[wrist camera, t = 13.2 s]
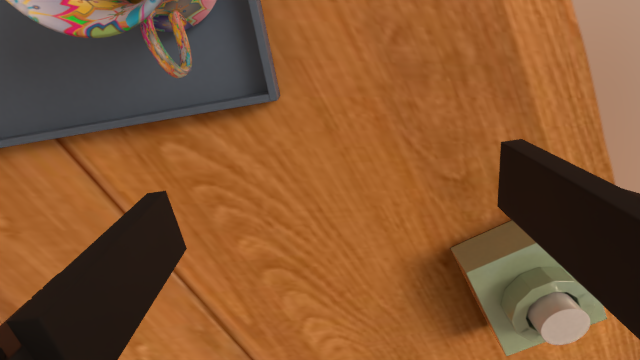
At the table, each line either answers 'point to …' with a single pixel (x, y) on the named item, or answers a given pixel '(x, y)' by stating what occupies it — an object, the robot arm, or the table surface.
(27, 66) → the tray
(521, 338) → the green button box
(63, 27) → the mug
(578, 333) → the button
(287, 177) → the table surface
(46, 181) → the table surface
